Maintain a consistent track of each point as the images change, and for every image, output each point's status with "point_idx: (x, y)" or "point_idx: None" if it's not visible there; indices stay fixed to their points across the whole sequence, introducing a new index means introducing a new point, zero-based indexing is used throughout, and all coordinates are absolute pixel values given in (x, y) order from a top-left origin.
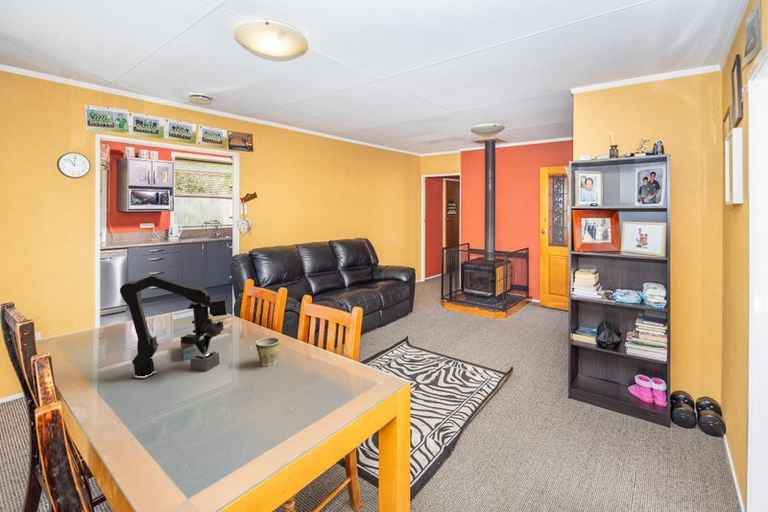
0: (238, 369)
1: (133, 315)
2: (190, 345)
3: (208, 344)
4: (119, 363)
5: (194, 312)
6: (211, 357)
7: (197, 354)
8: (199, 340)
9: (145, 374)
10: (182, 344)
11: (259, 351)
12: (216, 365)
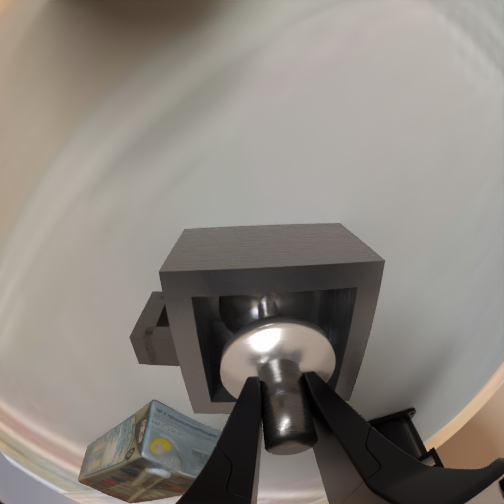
0: (240, 7)
1: None
2: (167, 481)
3: (237, 443)
4: (294, 497)
5: None
6: (297, 263)
7: (167, 424)
8: (496, 484)
9: (405, 424)
10: (178, 495)
11: None
12: (223, 228)
